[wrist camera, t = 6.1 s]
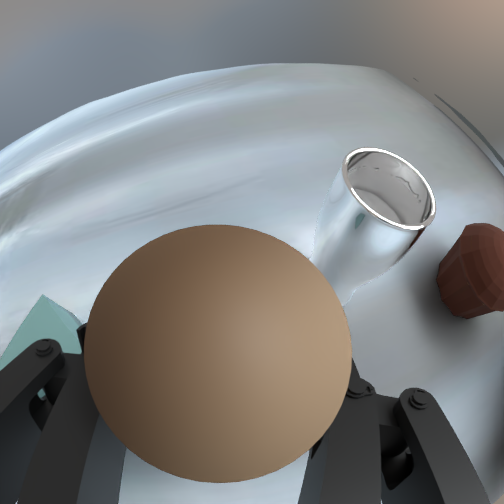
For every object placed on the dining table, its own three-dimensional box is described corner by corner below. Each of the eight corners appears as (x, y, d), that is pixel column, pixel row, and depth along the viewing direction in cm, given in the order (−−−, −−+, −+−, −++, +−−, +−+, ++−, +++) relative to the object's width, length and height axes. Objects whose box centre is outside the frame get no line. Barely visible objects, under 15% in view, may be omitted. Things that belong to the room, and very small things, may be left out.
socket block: (161, 399, 21) (138, 401, 15) (95, 481, 15) (65, 496, 10) (74, 314, 24) (42, 294, 18) (20, 393, 18) (-15, 386, 13)
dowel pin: (288, 369, 15) (390, 304, 4) (246, 429, 13) (250, 525, 2) (225, 329, 16) (189, 190, 5) (182, 387, 14) (46, 359, 3)
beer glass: (302, 323, 25) (370, 241, 12) (284, 259, 28) (320, 144, 15) (364, 307, 26) (455, 225, 13) (343, 249, 29) (404, 146, 16)
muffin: (448, 236, 31) (487, 193, 23) (490, 289, 27) (535, 256, 19) (415, 285, 27) (467, 241, 19) (464, 347, 23) (523, 321, 15)
